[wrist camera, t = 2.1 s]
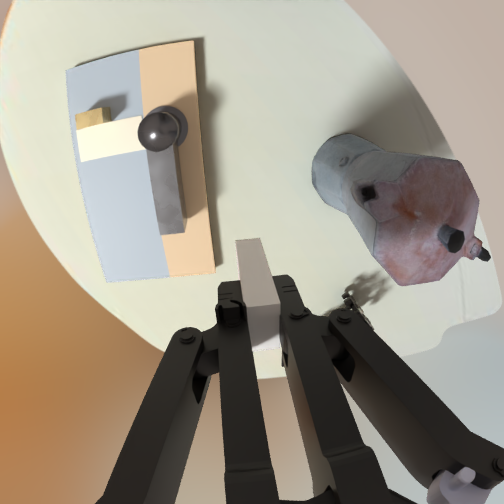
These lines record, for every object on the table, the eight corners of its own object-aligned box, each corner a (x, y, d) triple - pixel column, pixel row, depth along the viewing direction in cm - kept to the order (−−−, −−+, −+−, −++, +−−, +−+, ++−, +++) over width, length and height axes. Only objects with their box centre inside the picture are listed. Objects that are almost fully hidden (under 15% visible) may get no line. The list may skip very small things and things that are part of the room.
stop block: (84, 113, 25) (74, 114, 22) (110, 106, 25) (101, 107, 23) (86, 127, 25) (76, 130, 23) (111, 121, 26) (103, 123, 23)
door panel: (70, 71, 23) (65, 70, 22) (194, 42, 24) (193, 40, 23) (109, 277, 35) (106, 283, 34) (215, 267, 36) (215, 273, 35)
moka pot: (300, 109, 28) (414, 122, 11) (411, 155, 32) (538, 215, 14) (275, 191, 32) (342, 301, 15) (386, 222, 36) (487, 318, 18)
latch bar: (144, 114, 26) (135, 116, 22) (180, 109, 26) (175, 109, 23) (160, 223, 31) (154, 237, 28) (192, 220, 31) (190, 233, 28)
